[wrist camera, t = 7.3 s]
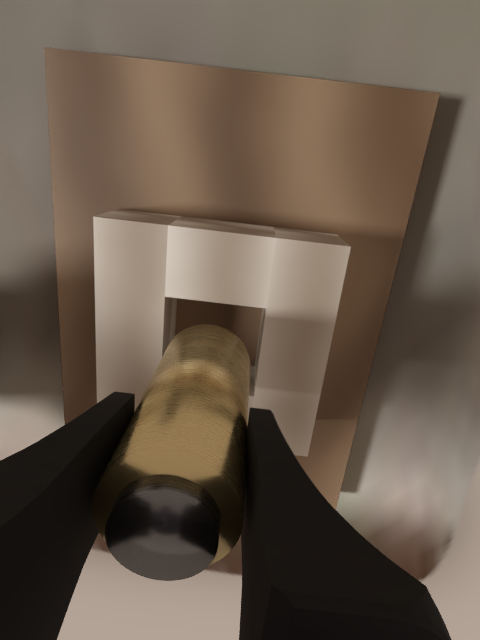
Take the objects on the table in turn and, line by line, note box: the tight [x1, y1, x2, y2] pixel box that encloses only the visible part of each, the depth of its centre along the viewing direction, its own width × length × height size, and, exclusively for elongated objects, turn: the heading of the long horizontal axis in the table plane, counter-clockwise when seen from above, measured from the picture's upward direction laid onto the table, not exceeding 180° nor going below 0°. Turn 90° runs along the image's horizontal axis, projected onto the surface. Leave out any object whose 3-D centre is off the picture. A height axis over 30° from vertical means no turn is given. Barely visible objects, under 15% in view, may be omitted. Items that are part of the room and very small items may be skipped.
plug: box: [92, 324, 250, 581], centre depth 12 cm, size 3×3×8 cm
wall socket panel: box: [45, 47, 440, 510], centre depth 20 cm, size 16×22×4 cm
